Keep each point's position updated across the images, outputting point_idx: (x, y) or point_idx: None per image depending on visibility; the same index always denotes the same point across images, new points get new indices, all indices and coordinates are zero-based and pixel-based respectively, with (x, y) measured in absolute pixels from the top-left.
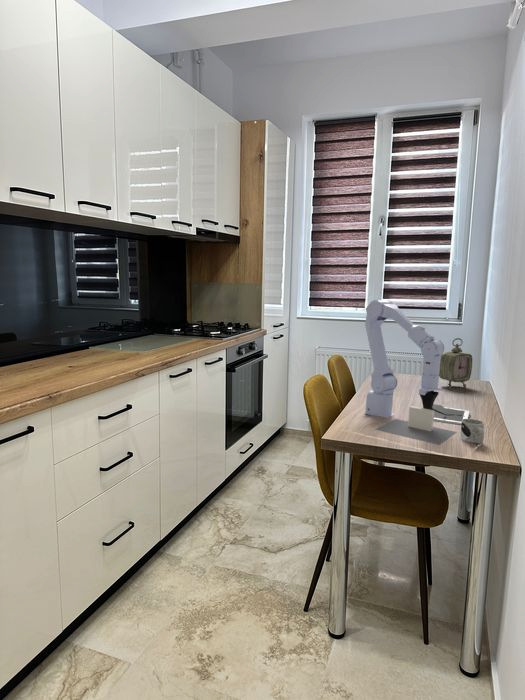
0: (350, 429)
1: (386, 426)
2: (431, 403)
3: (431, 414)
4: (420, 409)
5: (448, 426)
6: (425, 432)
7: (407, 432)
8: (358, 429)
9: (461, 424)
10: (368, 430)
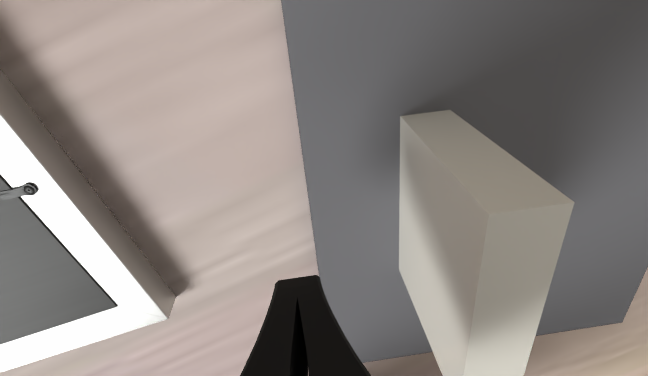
0: (642, 369)
1: None
2: (353, 358)
3: (543, 187)
4: (534, 321)
5: (104, 96)
6: (510, 121)
7: (588, 199)
8: (624, 356)
9: None
10: (617, 331)
